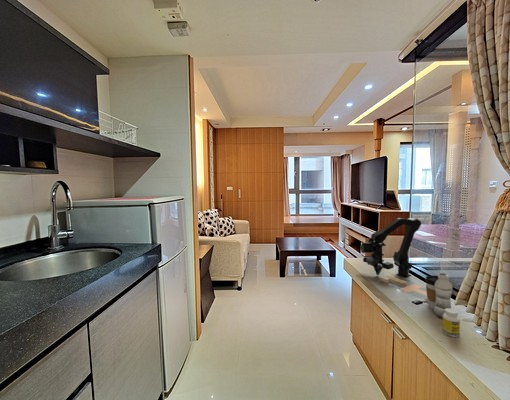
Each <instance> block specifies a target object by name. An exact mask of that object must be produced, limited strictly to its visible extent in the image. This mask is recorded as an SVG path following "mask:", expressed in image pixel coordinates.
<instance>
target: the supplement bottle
mask: <svg viewBox="0 0 510 400" xmlns="http://www.w3.org/2000/svg"><path fill="white" fill-rule="evenodd" d="M458 312H459V311H457V310H456V309H453V308H451V309H450V308H446V309H445V313H444V314H443V318H442V332H443V333H444V334H445V335H447V336H450V337H452V338H459V336H460V331H461V330H460V329H461V327H460V325H461V319H460V317H459V316H458V315H459V313H458Z"/></svg>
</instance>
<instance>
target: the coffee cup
mask: <svg viewBox="0 0 510 400" xmlns="http://www.w3.org/2000/svg"><path fill="white" fill-rule="evenodd" d="M438 279H439V278H438V275H427V276H426V277H425V279H424V282H425V284H426V285H425V288H426V291H427V299H428V301H427V305H428V307H429V308H430V309H433V310H434V306H435V301H436V291H435V282H436V281H437V280H438Z"/></svg>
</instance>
